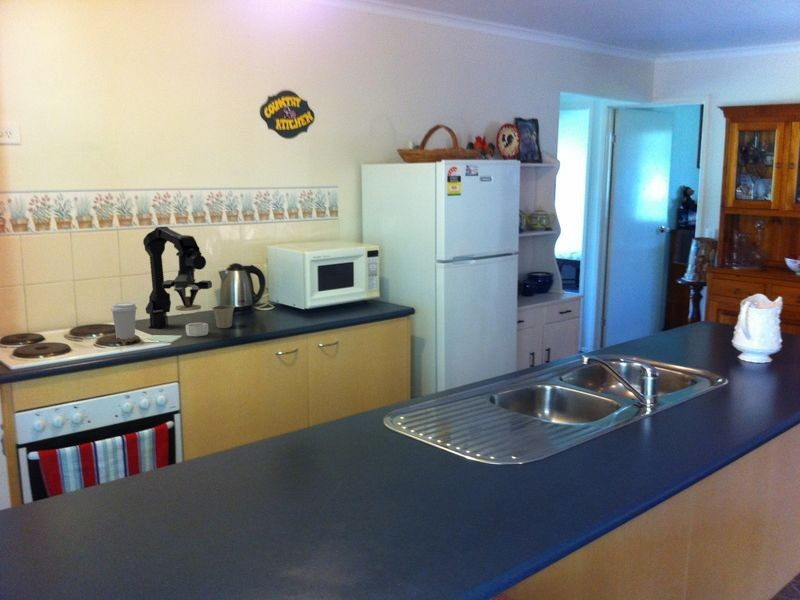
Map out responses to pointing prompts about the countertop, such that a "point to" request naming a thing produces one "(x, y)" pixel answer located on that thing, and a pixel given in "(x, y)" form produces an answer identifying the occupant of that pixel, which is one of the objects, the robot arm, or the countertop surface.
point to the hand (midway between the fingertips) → (188, 305)
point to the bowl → (197, 329)
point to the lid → (188, 305)
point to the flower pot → (223, 316)
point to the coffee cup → (124, 319)
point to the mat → (164, 338)
